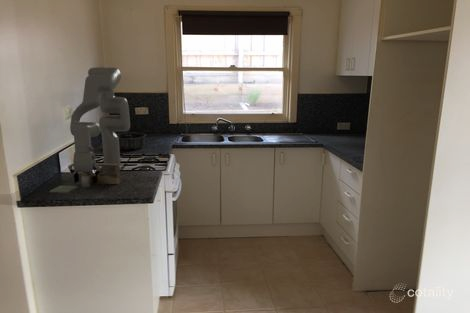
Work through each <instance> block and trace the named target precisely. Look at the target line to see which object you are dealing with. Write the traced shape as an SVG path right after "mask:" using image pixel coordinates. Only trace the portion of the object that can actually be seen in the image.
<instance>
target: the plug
mask: <svg viewBox="0 0 470 313" xmlns="http://www.w3.org/2000/svg"><path fill="white" fill-rule="evenodd" d="M80 176H81V187H82V188H90V187H91V186H92V185H91V184H92V183H90V172H80Z"/></svg>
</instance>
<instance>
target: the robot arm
mask: <svg viewBox="0 0 470 313" xmlns="http://www.w3.org/2000/svg"><path fill="white" fill-rule="evenodd" d="M87 72H88V73H87V76H86V78H85V80H84V81H85V82H84V90H83V95H82V96H83V98H82V102H81V103H80V104H79V105H78V106H77V107H76V108H75V109H74V111H73V112H72V114H71V118H70V127H69V130H70V134H71V136H72V137H73V141H74V153H73V159H72V161H73V162H72V164H70V165H68V166H67V168H68V170H69V172H70V173H71V174H72V176H73V181H74V183H75V184H77V183H79V182H80V175H79V173H82V172H91V173H92V174H93V176H92V178H93V183H92V184H93V185H95V184H98V183H97V181H98V179H97V175H98V174H99V173H100V171H101V169H102V167H101V166H99V165H97V164H96V163H97V162H96V161H97V160H96V157H95V156H96V155H95V152H94V150H95V149H94V148H95V147H93V146H92V140H91V138H96V137H98V136H99V135H100V134H101V141H102V142H101V143H102V153H103V154H102V157H103V163H105V164H119V169H122V168H124V164H123V163H121V162H122V161H123V159H122V157H121V149H119V138H118V136H117V134H118V133H125V132H128V131H130V129H131V119H130V107H129V102H128V100H127V98H126V97H123V96H115V88H116V87H117V85H119V83H120V81H121V79H122V73H121V71H120V69H119V68H117V67H106V66H105V67H103V66H101V67H91V68H89V69H88V71H87ZM97 108H100V109H99V110H100V111H101V112H102V113H104V114H105V115H103V116H101V117H100V118H99V120H98V122H93V121H88V122H87V121H81V119H82V117H83V116H84V115H85V114H86V113H88V112H90V111H92V110H94V109H97ZM109 114H110V115H109ZM114 114H115V115H114ZM116 114H118V115H116ZM116 132H118V133H116ZM96 169H98V170H97V171H96Z"/></svg>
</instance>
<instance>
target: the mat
mask: <svg viewBox="0 0 470 313" xmlns="http://www.w3.org/2000/svg"><path fill="white" fill-rule="evenodd" d="M77 188H78V186H77V185H59V186H56V187H55V188H53V189H50V190H49V193H56V192H57V193H58V194H59V193H60V194H68V193H70V192H71V191H73V190H75V189H77ZM57 193H56V194H57Z"/></svg>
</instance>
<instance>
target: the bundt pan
mask: <svg viewBox="0 0 470 313" xmlns="http://www.w3.org/2000/svg"><path fill="white" fill-rule="evenodd" d="M116 134H117V136H118V138H119V149H120V151H121V150H122V151H123V150H125V151H128V150H129V151H132V150H137V149H138V150H139V149H141V148H143V147H144V145H145V143H146V137H147V134H145V133H144V132H143V133H141V132H118V133H116Z"/></svg>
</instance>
